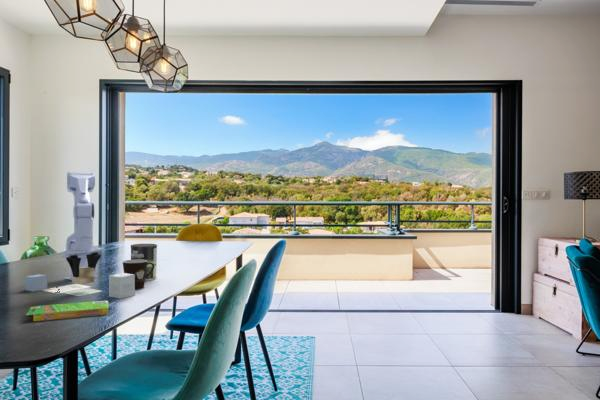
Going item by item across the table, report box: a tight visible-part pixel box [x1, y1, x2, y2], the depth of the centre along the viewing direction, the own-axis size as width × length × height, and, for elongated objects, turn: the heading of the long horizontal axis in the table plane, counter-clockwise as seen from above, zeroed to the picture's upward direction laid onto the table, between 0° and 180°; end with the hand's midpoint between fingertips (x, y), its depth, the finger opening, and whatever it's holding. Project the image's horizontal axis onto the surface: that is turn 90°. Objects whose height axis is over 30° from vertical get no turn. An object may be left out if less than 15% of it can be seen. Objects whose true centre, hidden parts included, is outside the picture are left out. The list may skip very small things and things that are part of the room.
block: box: [71, 267, 95, 285], centre depth 149 cm, size 5×5×5 cm
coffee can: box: [130, 243, 158, 282], centre depth 174 cm, size 10×10×14 cm
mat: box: [64, 287, 104, 297], centre depth 148 cm, size 9×9×1 cm
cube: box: [24, 273, 48, 292], centre depth 152 cm, size 5×5×5 cm
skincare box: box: [108, 272, 136, 299], centre depth 144 cm, size 6×6×7 cm
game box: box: [25, 300, 109, 322], centre depth 122 cm, size 3×10×20 cm
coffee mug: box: [122, 259, 154, 291], centre depth 158 cm, size 12×9×10 cm
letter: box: [42, 283, 92, 294], centre depth 154 cm, size 13×10×1 cm
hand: (83, 275), depth 148 cm, fingers closed on block, 5 cm apart
